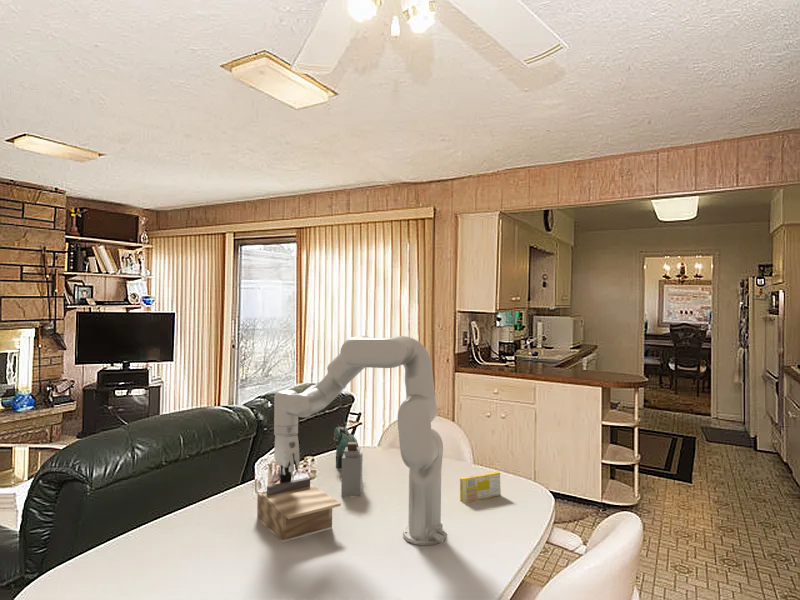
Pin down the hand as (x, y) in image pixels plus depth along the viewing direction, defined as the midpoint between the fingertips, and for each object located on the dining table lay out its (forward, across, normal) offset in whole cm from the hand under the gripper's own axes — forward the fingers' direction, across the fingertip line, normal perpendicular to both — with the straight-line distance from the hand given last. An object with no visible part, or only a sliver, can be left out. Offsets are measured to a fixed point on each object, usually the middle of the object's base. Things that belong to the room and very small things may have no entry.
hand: (285, 486), depth 167 cm
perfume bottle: (+10, +6, -28) cm, 30 cm away
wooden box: (+10, -7, 0) cm, 12 cm away
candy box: (+10, -24, -63) cm, 68 cm away
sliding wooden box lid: (+1, -11, 0) cm, 11 cm away
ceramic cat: (+10, +26, -38) cm, 47 cm away
